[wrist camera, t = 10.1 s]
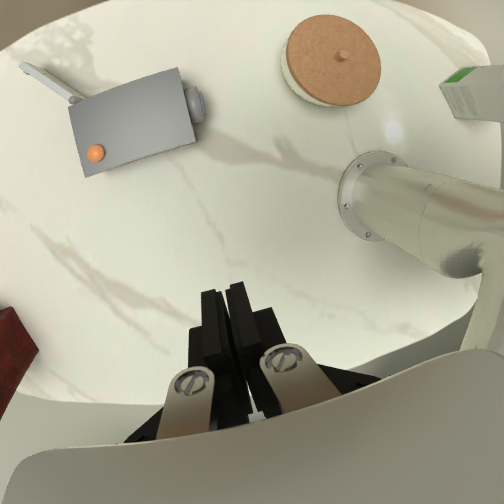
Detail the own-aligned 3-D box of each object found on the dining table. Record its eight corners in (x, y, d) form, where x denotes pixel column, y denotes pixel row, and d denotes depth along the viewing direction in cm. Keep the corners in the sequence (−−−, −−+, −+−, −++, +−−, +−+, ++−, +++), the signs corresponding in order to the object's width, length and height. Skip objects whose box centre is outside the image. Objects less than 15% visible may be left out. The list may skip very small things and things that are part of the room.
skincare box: (461, 67, 35) (532, 61, 20) (477, 101, 37) (547, 104, 23) (436, 85, 36) (513, 80, 21) (454, 121, 38) (529, 128, 24)
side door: (37, 75, 27) (15, 68, 22) (42, 68, 27) (20, 60, 22) (89, 111, 31) (71, 107, 25) (95, 103, 30) (77, 98, 25)
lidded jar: (253, 64, 32) (269, 41, 23) (314, 21, 31) (343, -6, 22) (310, 127, 36) (342, 125, 27) (365, 81, 35) (406, 71, 26)
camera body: (195, 75, 32) (194, 60, 25) (210, 138, 35) (212, 136, 28) (88, 110, 31) (65, 105, 24) (103, 171, 34) (83, 178, 27)
